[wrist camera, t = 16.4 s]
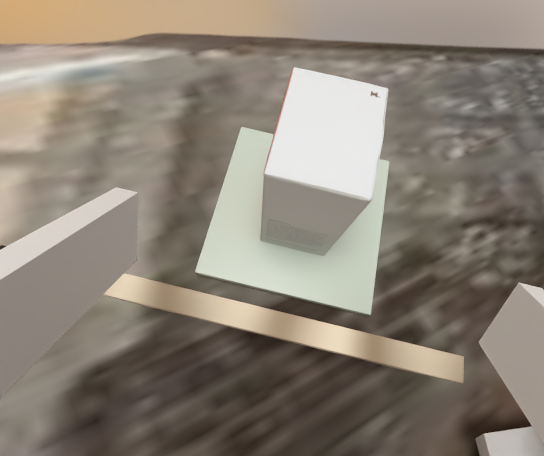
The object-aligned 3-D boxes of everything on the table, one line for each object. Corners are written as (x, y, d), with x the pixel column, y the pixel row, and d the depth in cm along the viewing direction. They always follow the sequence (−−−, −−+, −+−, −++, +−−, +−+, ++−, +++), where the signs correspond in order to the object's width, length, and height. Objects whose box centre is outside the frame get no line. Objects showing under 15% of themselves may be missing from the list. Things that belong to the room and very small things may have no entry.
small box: (277, 168, 32) (292, 62, 20) (338, 182, 32) (392, 85, 19) (257, 242, 29) (261, 173, 17) (324, 258, 29) (376, 201, 17)
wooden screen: (140, 305, 28) (99, 293, 20) (147, 287, 28) (109, 269, 21) (405, 370, 27) (463, 383, 20) (406, 351, 28) (463, 356, 20)
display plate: (197, 274, 29) (194, 272, 28) (241, 133, 34) (241, 126, 33) (366, 315, 29) (370, 314, 28) (384, 167, 34) (389, 161, 33)
